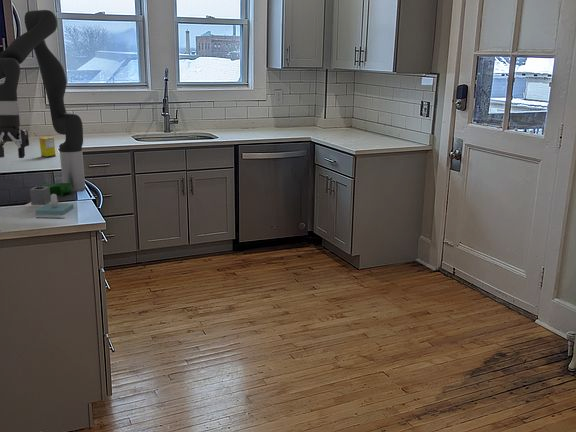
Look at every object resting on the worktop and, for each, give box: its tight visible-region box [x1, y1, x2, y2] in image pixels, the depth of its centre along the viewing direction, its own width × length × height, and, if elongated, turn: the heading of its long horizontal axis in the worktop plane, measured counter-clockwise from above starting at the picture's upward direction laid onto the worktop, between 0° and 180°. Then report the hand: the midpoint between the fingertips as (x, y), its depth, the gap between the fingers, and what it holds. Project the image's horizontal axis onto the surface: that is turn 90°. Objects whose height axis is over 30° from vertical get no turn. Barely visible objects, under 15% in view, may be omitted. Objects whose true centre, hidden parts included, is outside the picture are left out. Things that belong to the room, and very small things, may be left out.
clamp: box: [41, 182, 73, 197], centre depth 247 cm, size 12×6×9 cm, turn 94°
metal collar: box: [29, 186, 51, 205], centre depth 233 cm, size 5×5×6 cm
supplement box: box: [39, 136, 57, 158], centre depth 344 cm, size 6×6×11 cm
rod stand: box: [23, 199, 60, 208], centre depth 233 cm, size 10×10×6 cm
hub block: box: [35, 194, 75, 220], centre depth 221 cm, size 10×10×8 cm
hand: (11, 157), depth 223 cm, fingers open, 8 cm apart
